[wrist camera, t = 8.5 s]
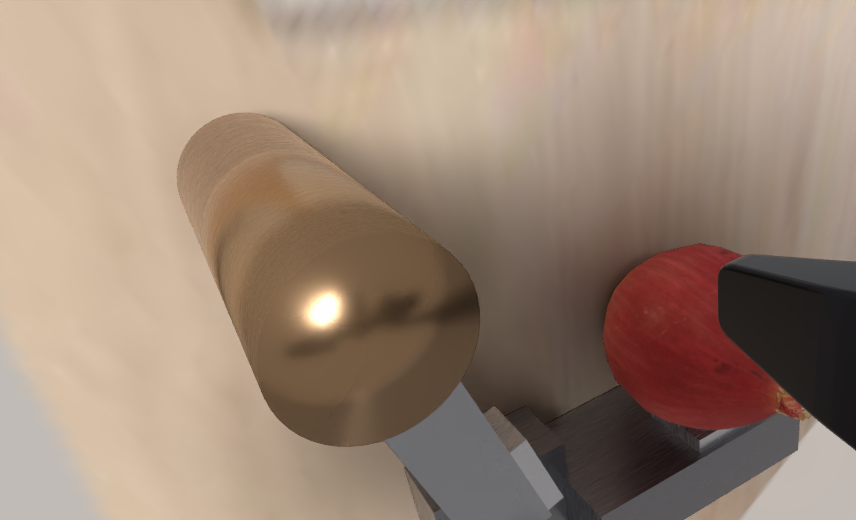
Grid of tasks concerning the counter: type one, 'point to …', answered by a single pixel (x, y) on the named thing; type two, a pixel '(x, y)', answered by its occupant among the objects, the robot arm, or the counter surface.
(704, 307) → the onion
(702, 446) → the base
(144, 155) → the counter surface
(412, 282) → the lever
